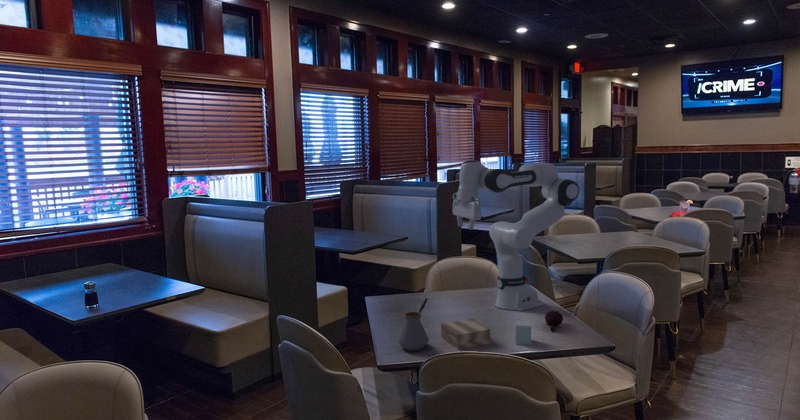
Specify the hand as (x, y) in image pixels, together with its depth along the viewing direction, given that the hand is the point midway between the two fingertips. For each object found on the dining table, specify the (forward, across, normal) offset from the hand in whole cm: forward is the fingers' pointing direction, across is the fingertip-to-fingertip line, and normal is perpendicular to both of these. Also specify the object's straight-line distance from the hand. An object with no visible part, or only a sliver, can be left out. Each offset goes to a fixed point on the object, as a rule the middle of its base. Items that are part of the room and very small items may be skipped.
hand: (465, 227), depth 241 cm
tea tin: (+38, -41, -6) cm, 57 cm away
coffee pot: (+42, -24, +30) cm, 57 cm away
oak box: (+40, -30, +13) cm, 52 cm away
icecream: (+36, -32, -27) cm, 56 cm away
